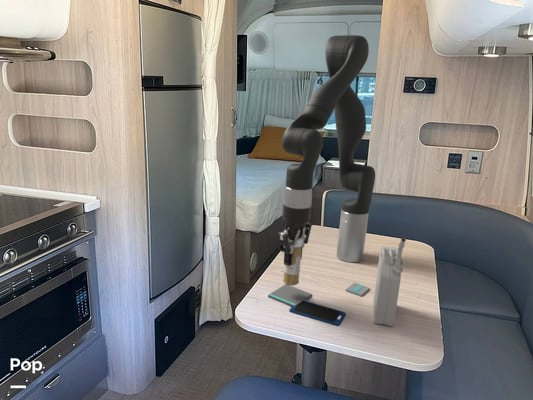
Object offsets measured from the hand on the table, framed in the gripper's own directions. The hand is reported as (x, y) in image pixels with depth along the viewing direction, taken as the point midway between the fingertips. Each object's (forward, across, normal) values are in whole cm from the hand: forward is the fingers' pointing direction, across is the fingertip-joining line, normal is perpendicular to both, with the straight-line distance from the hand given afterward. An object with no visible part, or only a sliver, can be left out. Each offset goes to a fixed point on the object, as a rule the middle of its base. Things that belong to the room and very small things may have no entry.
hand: (292, 261), depth 121 cm
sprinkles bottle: (+6, 0, 0) cm, 6 cm away
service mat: (+11, 0, 0) cm, 11 cm away
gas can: (+11, +8, -25) cm, 28 cm away
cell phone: (+11, -2, -10) cm, 16 cm away
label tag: (+11, +17, -13) cm, 24 cm away
